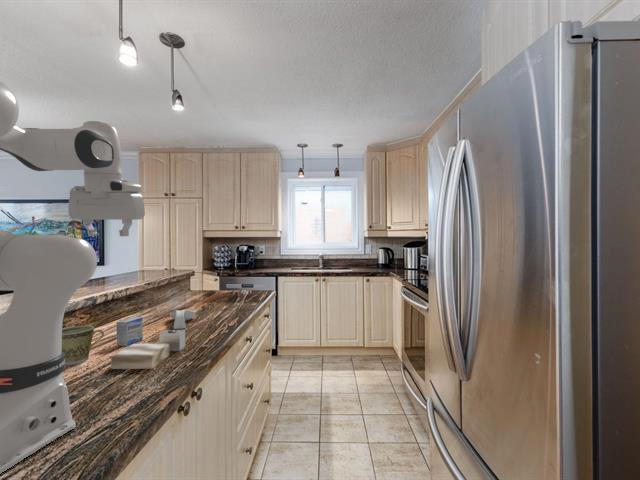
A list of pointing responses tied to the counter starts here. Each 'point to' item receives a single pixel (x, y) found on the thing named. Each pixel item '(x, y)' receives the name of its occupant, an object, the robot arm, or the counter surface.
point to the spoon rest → (181, 317)
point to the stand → (140, 356)
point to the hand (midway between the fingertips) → (108, 236)
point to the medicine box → (129, 331)
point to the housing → (173, 339)
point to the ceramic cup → (77, 343)
